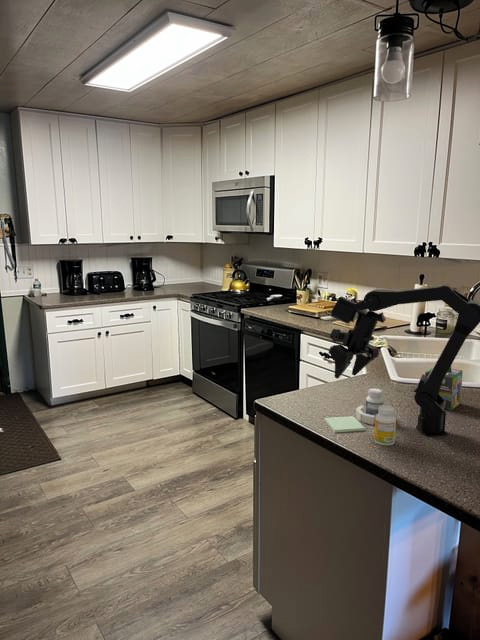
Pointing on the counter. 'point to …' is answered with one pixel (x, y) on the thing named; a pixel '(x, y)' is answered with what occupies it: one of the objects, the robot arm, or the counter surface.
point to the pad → (344, 424)
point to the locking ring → (364, 416)
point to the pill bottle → (374, 401)
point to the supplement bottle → (385, 426)
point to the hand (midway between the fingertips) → (344, 376)
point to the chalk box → (450, 388)
